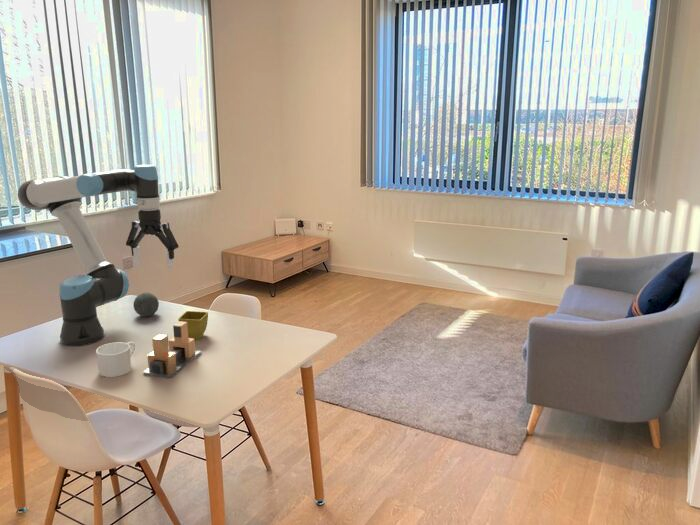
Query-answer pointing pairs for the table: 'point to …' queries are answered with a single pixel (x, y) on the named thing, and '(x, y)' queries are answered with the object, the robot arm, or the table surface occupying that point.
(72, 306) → the robot arm
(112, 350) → the mug
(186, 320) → the flower pot
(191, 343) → the tan wooden arch block
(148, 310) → the decorative ball
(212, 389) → the table surface
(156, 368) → the rail base
